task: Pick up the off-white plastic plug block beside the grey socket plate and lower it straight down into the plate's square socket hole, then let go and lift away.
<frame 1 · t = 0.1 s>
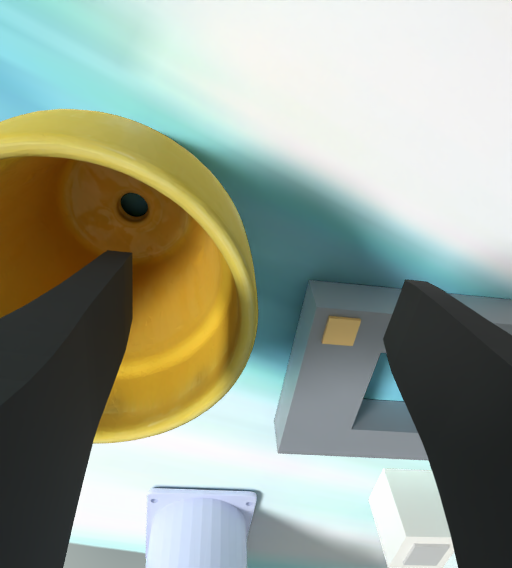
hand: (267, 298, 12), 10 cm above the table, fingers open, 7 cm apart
plug block: (400, 485, 34), on the table
plant pot: (136, 195, 21), on the table
socket plate: (401, 366, 27), on the table
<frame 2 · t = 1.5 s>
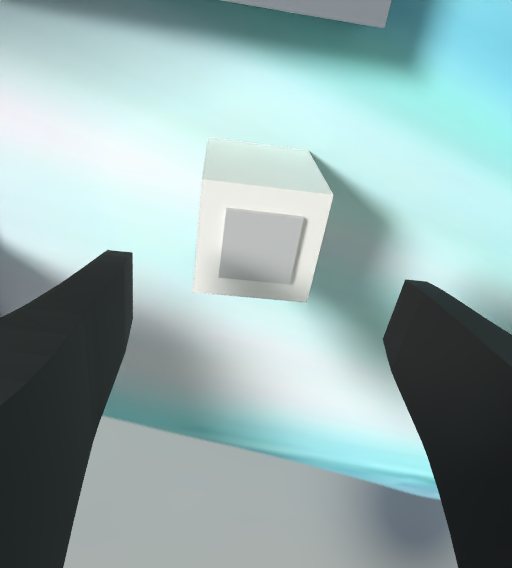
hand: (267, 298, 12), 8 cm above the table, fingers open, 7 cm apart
plug block: (251, 191, 18), on the table
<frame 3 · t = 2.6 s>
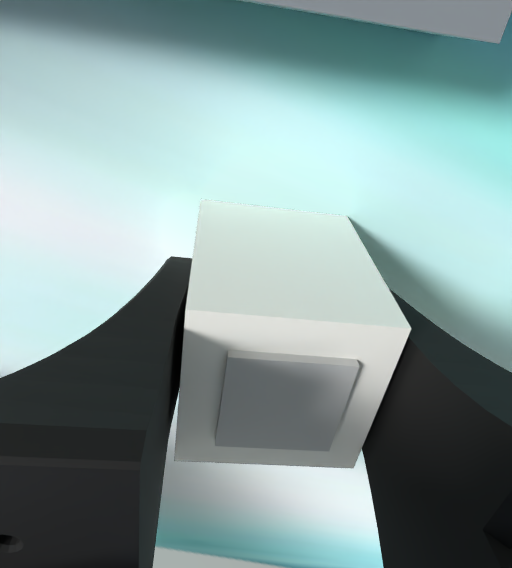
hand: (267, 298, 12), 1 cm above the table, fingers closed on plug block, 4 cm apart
plug block: (263, 271, 13), on the table, touching gripper
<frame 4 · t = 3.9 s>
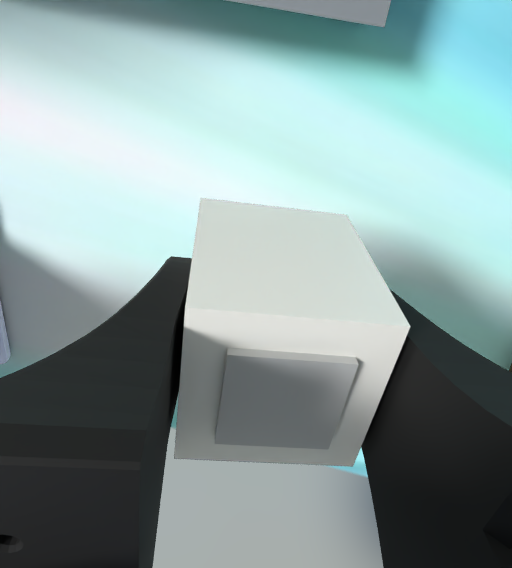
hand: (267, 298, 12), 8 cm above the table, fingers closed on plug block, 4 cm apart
plug block: (263, 270, 13), point 7 cm above the table, touching gripper
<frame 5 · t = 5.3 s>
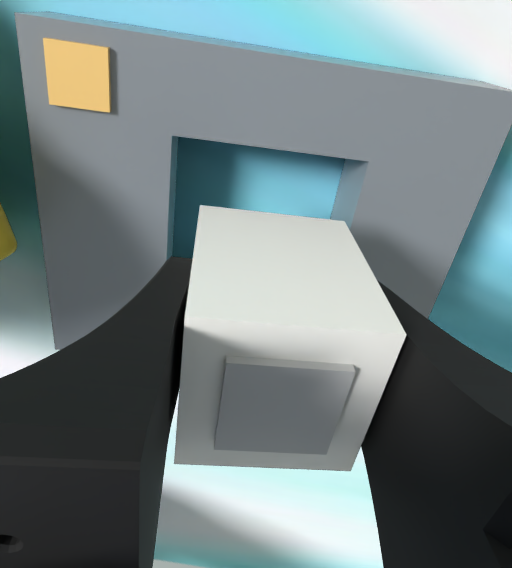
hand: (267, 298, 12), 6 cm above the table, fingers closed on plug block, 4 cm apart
plug block: (262, 275, 13), point 5 cm above the table, touching gripper
socket plate: (254, 209, 17), on the table
when the fingers open (3 cm above the table, at t = 6.2 s): plug block drops 1 cm, resting in socket plate.
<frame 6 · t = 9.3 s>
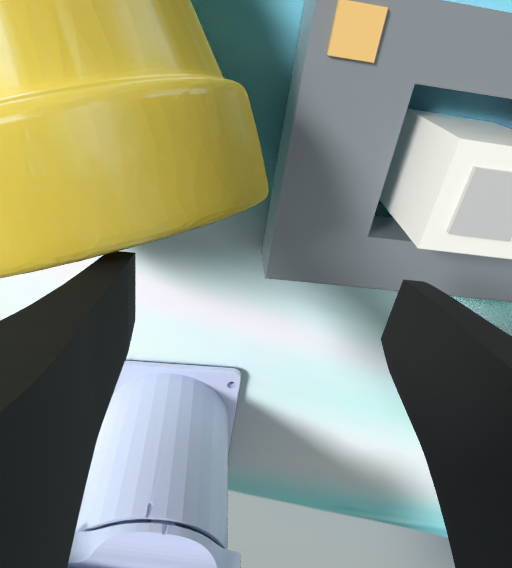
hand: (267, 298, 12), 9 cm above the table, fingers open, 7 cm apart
plug block: (434, 161, 20), resting in socket plate
socket plate: (435, 158, 20), on the table
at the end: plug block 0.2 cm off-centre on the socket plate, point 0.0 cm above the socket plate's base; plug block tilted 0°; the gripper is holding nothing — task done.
